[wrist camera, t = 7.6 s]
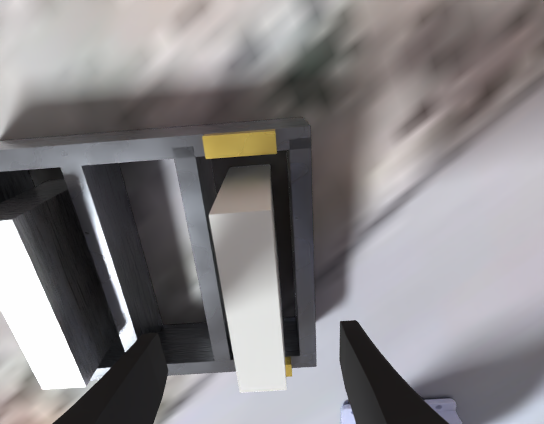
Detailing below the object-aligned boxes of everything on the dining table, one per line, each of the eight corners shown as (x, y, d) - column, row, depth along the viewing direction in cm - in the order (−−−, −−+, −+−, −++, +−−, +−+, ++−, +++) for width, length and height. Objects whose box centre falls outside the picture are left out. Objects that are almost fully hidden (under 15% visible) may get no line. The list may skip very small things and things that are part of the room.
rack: (302, 117, 17) (318, 135, 12) (309, 326, 23) (322, 403, 18) (-2, 140, 18) (-125, 169, 12) (81, 340, 24) (24, 421, 18)
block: (270, 163, 18) (270, 209, 12) (281, 300, 22) (286, 390, 16) (229, 167, 18) (208, 214, 12) (248, 302, 22) (239, 393, 16)
